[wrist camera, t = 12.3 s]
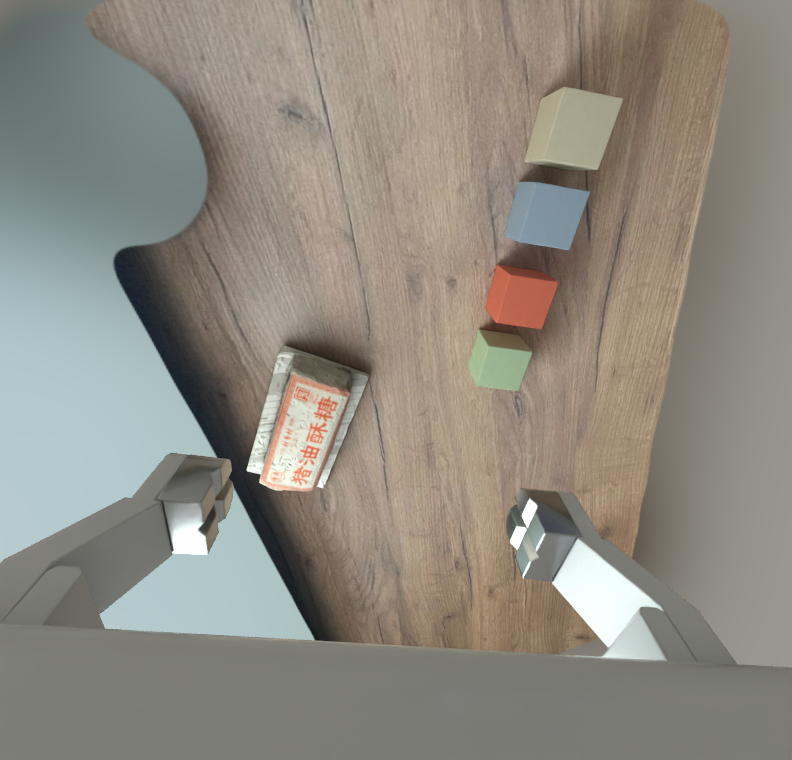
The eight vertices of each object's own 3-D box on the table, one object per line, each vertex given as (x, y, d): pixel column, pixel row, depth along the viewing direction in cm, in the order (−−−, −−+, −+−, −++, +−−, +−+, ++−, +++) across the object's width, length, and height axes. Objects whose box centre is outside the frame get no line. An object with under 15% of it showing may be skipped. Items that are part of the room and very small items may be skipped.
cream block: (541, 98, 30) (564, 85, 26) (593, 108, 30) (624, 98, 26) (523, 162, 32) (542, 159, 28) (572, 170, 32) (598, 169, 28)
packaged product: (270, 360, 35) (368, 392, 37) (282, 341, 39) (370, 371, 41) (236, 490, 43) (318, 511, 45) (249, 462, 47) (324, 482, 49)
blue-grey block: (518, 181, 33) (536, 181, 29) (566, 190, 33) (590, 191, 29) (503, 234, 35) (518, 242, 31) (549, 242, 35) (569, 250, 31)
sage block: (478, 329, 39) (488, 345, 35) (518, 334, 40) (533, 351, 36) (467, 366, 41) (476, 386, 37) (506, 371, 42) (518, 391, 38)
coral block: (496, 264, 36) (510, 274, 32) (540, 270, 36) (559, 281, 32) (484, 308, 38) (495, 323, 34) (526, 314, 39) (542, 329, 35)
